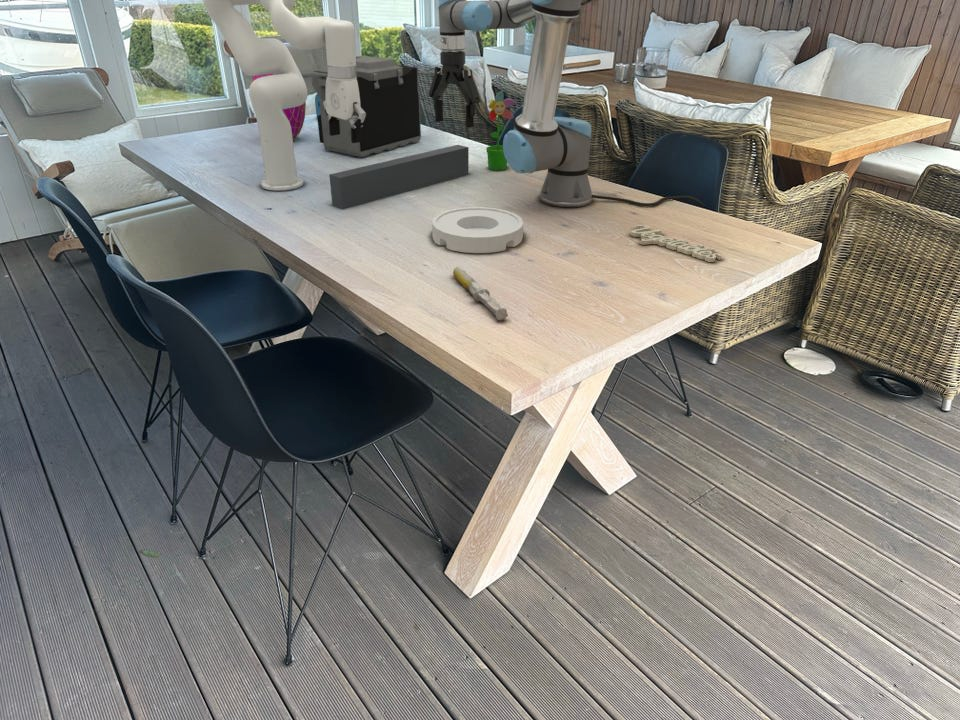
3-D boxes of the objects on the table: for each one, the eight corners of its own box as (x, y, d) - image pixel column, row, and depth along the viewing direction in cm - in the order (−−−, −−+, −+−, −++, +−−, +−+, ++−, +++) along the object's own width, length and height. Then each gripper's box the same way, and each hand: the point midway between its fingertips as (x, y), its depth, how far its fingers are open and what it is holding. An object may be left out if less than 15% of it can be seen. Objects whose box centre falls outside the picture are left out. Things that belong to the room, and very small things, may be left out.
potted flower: (491, 172, 228) (493, 92, 215) (480, 166, 234) (481, 88, 221) (516, 168, 232) (519, 90, 219) (504, 163, 238) (506, 86, 225)
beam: (458, 171, 229) (457, 144, 225) (468, 174, 226) (468, 147, 222) (332, 204, 197) (329, 174, 193) (342, 208, 194) (339, 177, 190)
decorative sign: (617, 232, 177) (640, 223, 183) (616, 235, 177) (640, 227, 183) (706, 262, 160) (729, 252, 166) (705, 266, 160) (728, 255, 166)
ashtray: (436, 220, 186) (436, 206, 184) (521, 222, 186) (522, 207, 184) (428, 252, 166) (427, 236, 164) (523, 254, 166) (524, 238, 164)
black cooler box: (383, 133, 276) (378, 52, 261) (425, 141, 265) (422, 56, 250) (314, 150, 251) (304, 61, 235) (358, 160, 240) (350, 67, 224)
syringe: (449, 274, 155) (449, 263, 153) (465, 272, 156) (464, 260, 154) (490, 323, 135) (491, 310, 133) (508, 319, 136) (508, 307, 134)
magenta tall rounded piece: (293, 132, 276) (283, 50, 261) (319, 140, 264) (310, 56, 249) (249, 139, 265) (236, 54, 250) (273, 148, 253) (261, 60, 238)
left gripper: (310, 68, 183) (315, 134, 193) (351, 79, 174) (354, 147, 183) (333, 66, 188) (337, 130, 197) (374, 76, 178) (376, 143, 188)
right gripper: (415, 49, 211) (418, 120, 221) (474, 54, 196) (474, 131, 206) (433, 47, 216) (435, 117, 226) (491, 52, 201) (491, 127, 211)
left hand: (345, 138), depth 190 cm, fingers open, 9 cm apart
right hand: (454, 124), depth 216 cm, fingers open, 13 cm apart
